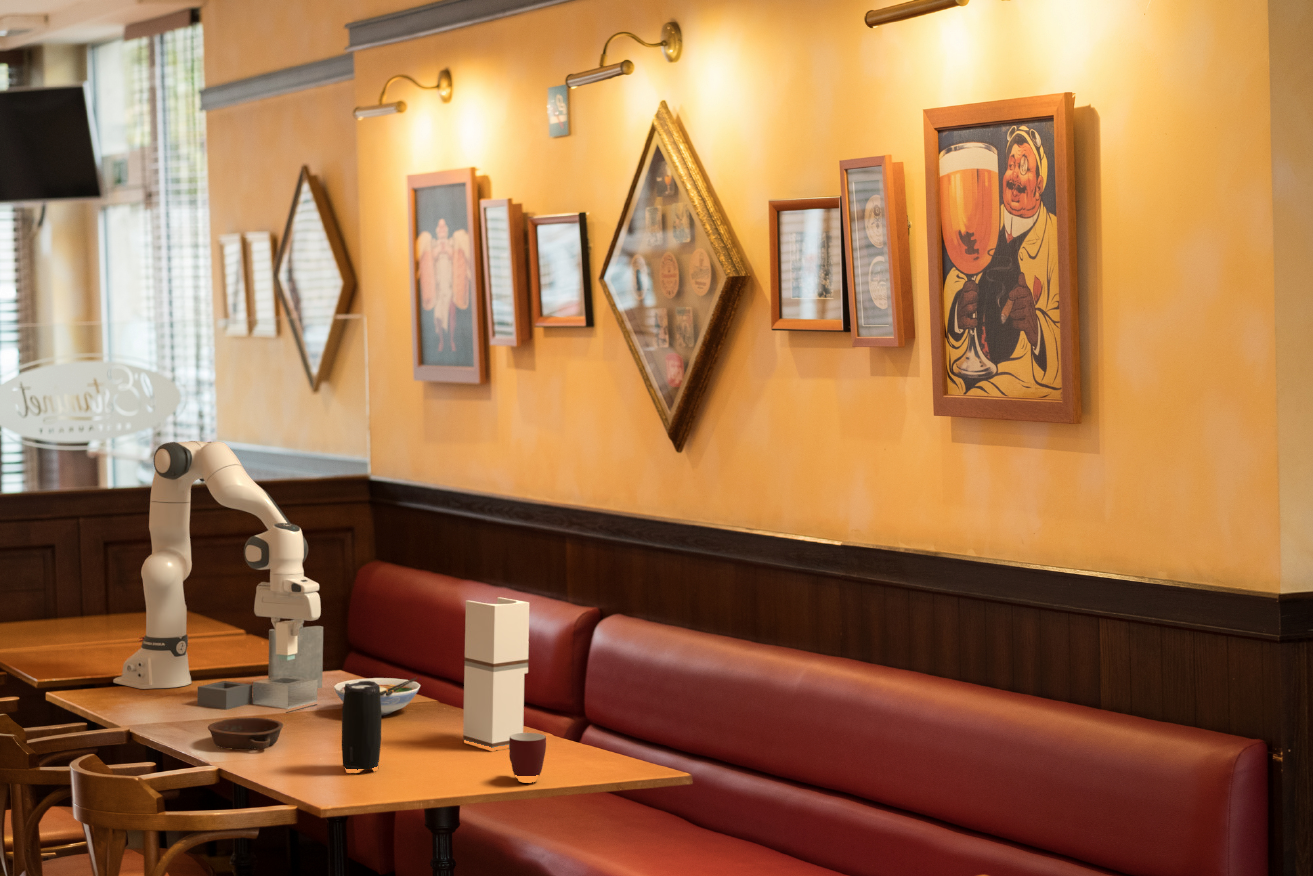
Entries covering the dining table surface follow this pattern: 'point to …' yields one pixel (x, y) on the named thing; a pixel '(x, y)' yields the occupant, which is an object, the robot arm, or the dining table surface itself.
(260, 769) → the dining table surface
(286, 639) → the plug
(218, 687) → the grey square socket block
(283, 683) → the port box
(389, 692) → the ramen bowl
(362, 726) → the portable speaker
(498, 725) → the banded cream pillar
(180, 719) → the dining table surface
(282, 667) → the hip flask
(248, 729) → the dish
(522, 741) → the mug
